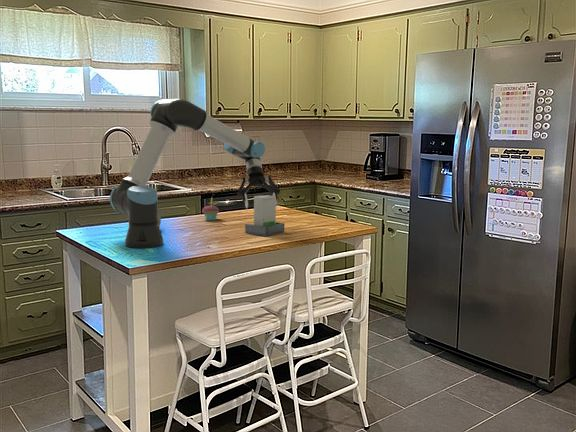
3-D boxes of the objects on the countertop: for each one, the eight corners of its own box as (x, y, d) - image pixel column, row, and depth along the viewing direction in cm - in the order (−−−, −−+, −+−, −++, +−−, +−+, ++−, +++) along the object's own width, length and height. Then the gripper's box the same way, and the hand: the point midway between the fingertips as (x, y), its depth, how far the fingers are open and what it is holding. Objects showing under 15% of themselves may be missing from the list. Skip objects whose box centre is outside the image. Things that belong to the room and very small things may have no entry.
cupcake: (222, 220, 287) (221, 196, 285) (206, 221, 283) (206, 197, 280) (214, 217, 294) (213, 194, 292) (199, 219, 290) (198, 195, 287)
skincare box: (261, 232, 253) (261, 197, 250) (252, 230, 258) (252, 196, 255) (276, 230, 258) (276, 196, 255) (267, 227, 263) (267, 194, 260)
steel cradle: (266, 236, 250) (266, 227, 249) (245, 232, 257) (245, 224, 256) (284, 231, 259) (284, 223, 259) (263, 228, 267) (263, 220, 266)
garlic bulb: (154, 231, 259) (153, 210, 257) (138, 230, 261) (137, 209, 259) (165, 227, 267) (164, 206, 266) (149, 226, 270) (148, 205, 268)
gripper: (278, 174, 281) (286, 209, 270) (228, 175, 275) (234, 211, 264) (281, 164, 275) (289, 200, 264) (229, 166, 269) (235, 202, 258)
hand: (261, 206), depth 264 cm, fingers open, 13 cm apart
